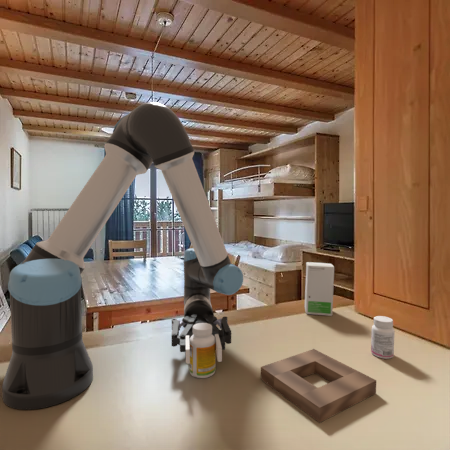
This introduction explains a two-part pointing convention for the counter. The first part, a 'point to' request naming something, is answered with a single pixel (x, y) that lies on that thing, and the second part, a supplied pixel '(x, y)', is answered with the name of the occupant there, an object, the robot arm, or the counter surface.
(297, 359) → the socket block
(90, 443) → the counter surface
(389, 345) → the pill bottle
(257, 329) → the counter surface
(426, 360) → the counter surface
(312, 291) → the skincare box
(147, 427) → the counter surface
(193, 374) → the supplement bottle
